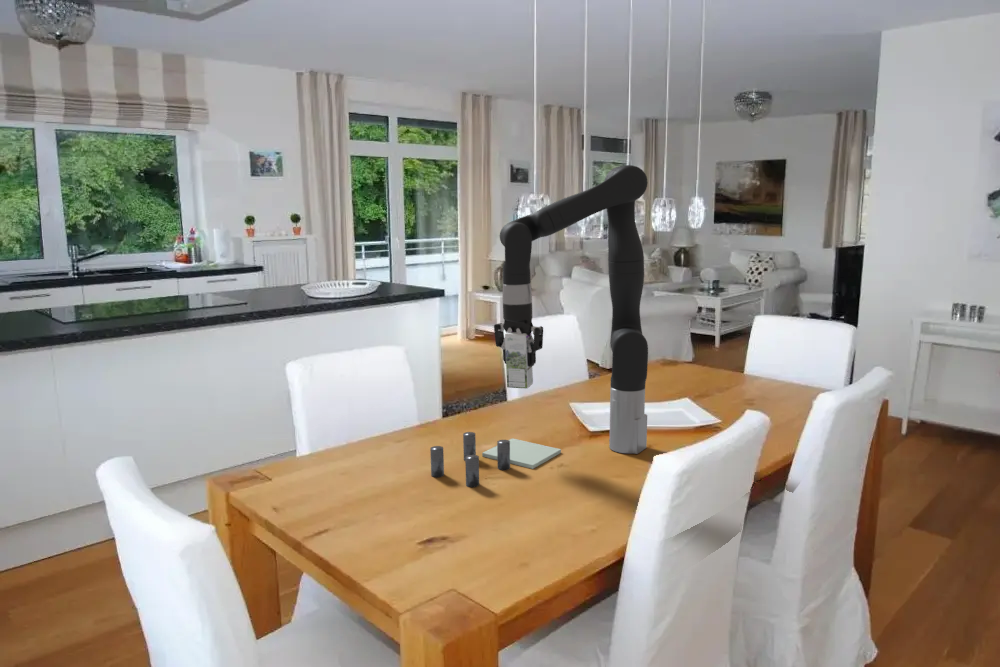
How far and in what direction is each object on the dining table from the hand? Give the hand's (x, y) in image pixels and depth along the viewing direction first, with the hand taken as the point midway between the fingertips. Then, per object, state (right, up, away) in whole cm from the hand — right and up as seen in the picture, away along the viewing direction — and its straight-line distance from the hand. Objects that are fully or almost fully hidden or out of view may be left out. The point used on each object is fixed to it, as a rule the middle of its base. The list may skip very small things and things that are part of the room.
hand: (519, 364), depth 182 cm
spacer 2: (-13, -25, +3) cm, 28 cm away
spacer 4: (-4, -26, -4) cm, 27 cm away
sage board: (+1, -24, +6) cm, 25 cm away
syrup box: (0, -6, +1) cm, 6 cm away
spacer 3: (-12, -28, -14) cm, 34 cm away
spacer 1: (-21, -27, -8) cm, 35 cm away
